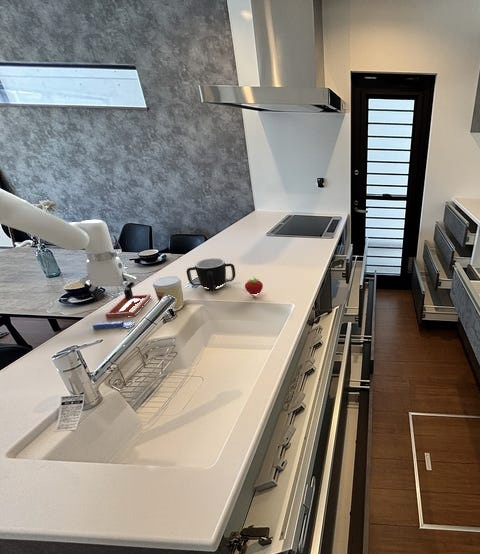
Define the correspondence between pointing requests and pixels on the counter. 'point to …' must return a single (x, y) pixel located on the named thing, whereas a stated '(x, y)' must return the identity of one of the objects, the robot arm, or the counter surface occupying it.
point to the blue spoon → (111, 325)
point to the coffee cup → (169, 289)
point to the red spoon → (129, 305)
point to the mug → (211, 273)
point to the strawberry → (254, 286)
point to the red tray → (115, 310)
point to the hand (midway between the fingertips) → (114, 298)
